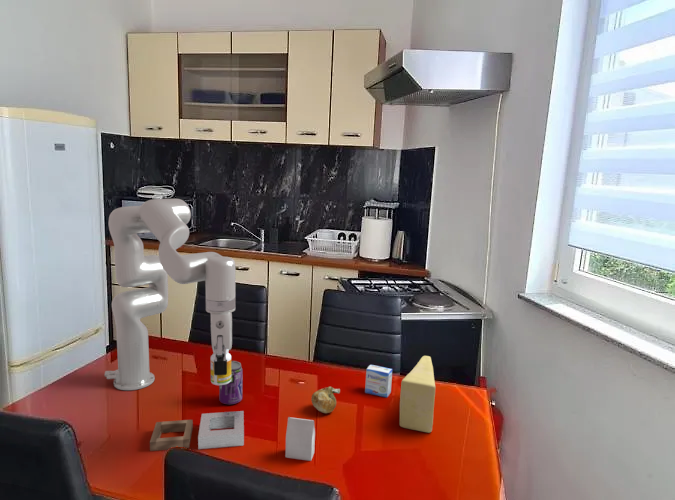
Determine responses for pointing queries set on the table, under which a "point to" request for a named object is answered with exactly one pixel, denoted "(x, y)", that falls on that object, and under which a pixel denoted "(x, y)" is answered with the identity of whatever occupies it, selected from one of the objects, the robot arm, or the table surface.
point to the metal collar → (221, 436)
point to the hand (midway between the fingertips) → (221, 368)
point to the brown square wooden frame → (169, 442)
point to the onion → (325, 399)
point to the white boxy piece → (300, 439)
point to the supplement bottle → (221, 378)
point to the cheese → (418, 397)
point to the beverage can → (232, 386)
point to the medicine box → (378, 381)
